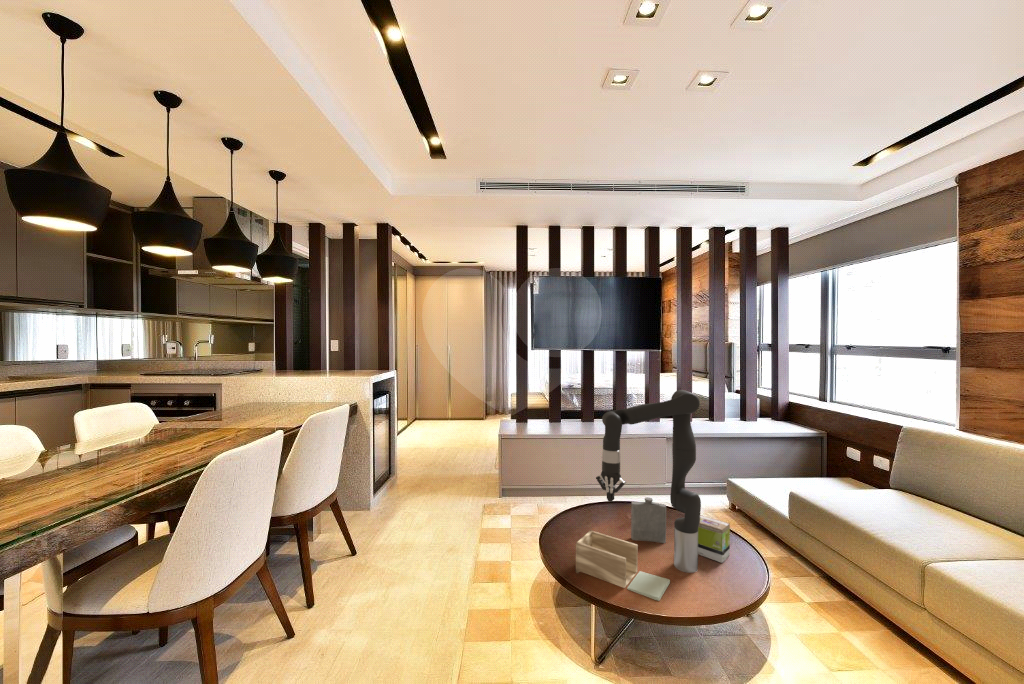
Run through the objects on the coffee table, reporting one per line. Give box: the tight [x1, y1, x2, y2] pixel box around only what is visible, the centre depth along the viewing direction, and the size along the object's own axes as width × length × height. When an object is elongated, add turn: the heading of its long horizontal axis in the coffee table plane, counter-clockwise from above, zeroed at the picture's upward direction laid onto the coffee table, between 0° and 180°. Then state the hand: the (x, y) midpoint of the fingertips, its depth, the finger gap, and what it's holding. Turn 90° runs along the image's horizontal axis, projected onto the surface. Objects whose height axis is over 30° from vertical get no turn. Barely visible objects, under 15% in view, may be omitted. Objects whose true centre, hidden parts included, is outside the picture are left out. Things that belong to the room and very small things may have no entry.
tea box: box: [698, 514, 731, 564], centre depth 187 cm, size 15×10×15 cm, turn 44°
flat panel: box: [626, 570, 671, 602], centre depth 161 cm, size 14×1×12 cm
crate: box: [575, 529, 639, 589], centre depth 171 cm, size 14×21×12 cm, turn 54°
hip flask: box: [630, 496, 667, 544], centre depth 200 cm, size 16×4×20 cm, turn 78°
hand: (610, 500), depth 174 cm, fingers closed
